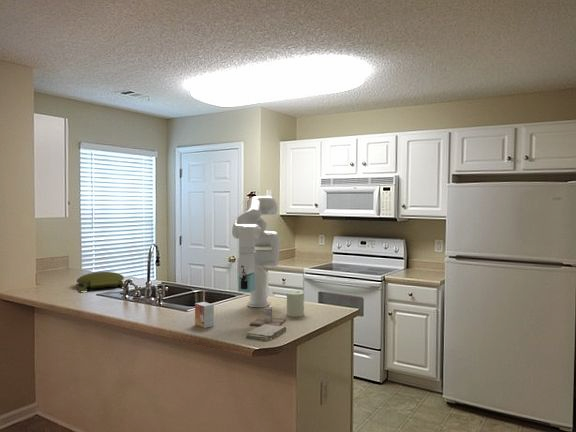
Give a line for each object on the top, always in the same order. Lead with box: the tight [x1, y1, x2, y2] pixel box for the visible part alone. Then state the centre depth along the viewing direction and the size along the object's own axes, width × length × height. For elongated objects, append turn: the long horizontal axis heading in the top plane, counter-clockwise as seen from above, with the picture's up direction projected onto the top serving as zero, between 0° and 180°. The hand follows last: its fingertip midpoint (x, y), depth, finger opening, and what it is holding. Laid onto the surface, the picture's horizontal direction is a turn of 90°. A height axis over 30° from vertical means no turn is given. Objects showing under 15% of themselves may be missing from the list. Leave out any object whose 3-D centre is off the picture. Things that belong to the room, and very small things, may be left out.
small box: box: [194, 301, 215, 329], centre depth 218 cm, size 8×6×10 cm
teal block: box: [237, 273, 255, 293], centre depth 222 cm, size 6×6×8 cm
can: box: [286, 290, 305, 318], centre depth 238 cm, size 9×9×12 cm
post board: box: [249, 306, 287, 327], centre depth 222 cm, size 13×14×8 cm
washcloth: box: [245, 324, 287, 342], centre depth 204 cm, size 12×18×3 cm, turn 155°
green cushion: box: [75, 271, 125, 292], centre depth 317 cm, size 35×31×10 cm
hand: (247, 287), depth 222 cm, fingers closed on teal block, 6 cm apart
